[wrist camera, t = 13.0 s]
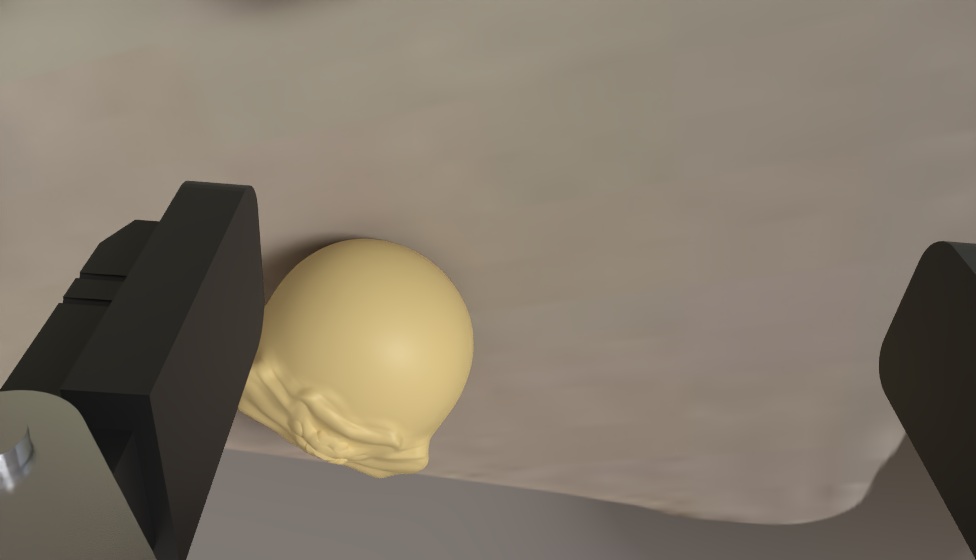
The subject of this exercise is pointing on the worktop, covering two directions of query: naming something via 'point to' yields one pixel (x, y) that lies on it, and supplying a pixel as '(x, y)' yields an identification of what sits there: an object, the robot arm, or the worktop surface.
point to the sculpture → (361, 356)
